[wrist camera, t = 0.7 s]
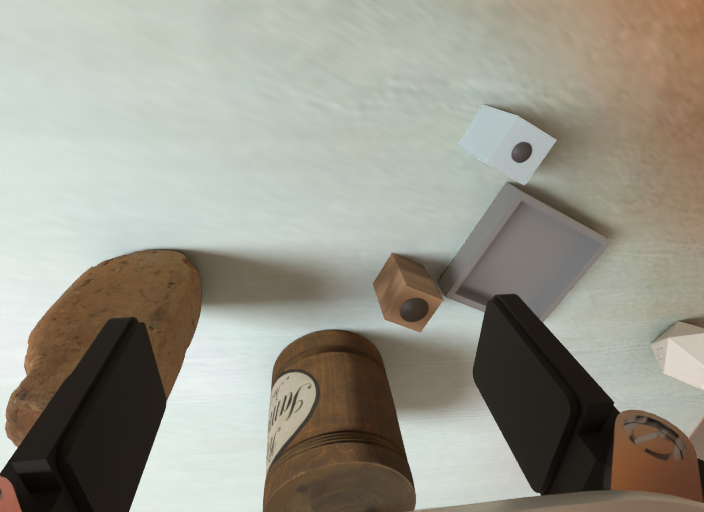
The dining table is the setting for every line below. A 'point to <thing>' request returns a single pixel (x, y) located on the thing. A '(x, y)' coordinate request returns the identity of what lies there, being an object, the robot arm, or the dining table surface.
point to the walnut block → (406, 293)
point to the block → (92, 314)
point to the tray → (522, 254)
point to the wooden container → (334, 430)
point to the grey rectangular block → (506, 143)
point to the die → (682, 353)
